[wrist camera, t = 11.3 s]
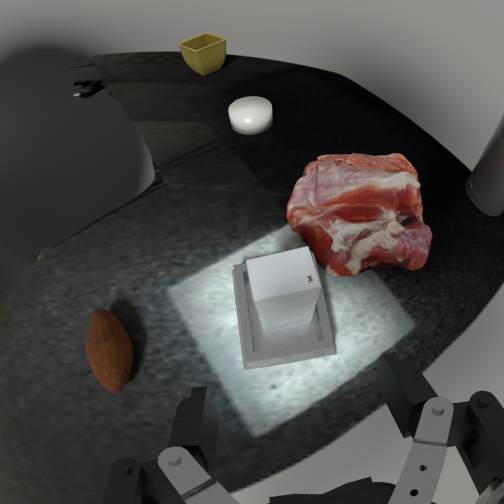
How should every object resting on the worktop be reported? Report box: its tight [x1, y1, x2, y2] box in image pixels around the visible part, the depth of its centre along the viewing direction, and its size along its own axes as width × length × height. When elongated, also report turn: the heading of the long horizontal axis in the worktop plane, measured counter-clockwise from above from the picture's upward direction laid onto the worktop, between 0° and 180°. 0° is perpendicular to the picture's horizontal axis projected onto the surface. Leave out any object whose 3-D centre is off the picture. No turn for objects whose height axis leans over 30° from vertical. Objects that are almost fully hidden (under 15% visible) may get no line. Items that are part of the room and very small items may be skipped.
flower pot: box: [179, 33, 226, 76], centre depth 64 cm, size 9×9×9 cm
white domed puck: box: [229, 96, 273, 135], centre depth 54 cm, size 8×8×4 cm
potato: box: [86, 308, 133, 394], centre depth 34 cm, size 6×12×6 cm, turn 21°
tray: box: [232, 252, 336, 370], centre depth 36 cm, size 11×13×3 cm
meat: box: [287, 153, 432, 276], centre depth 39 cm, size 21×21×10 cm
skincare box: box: [246, 246, 322, 333], centre depth 32 cm, size 6×4×12 cm
